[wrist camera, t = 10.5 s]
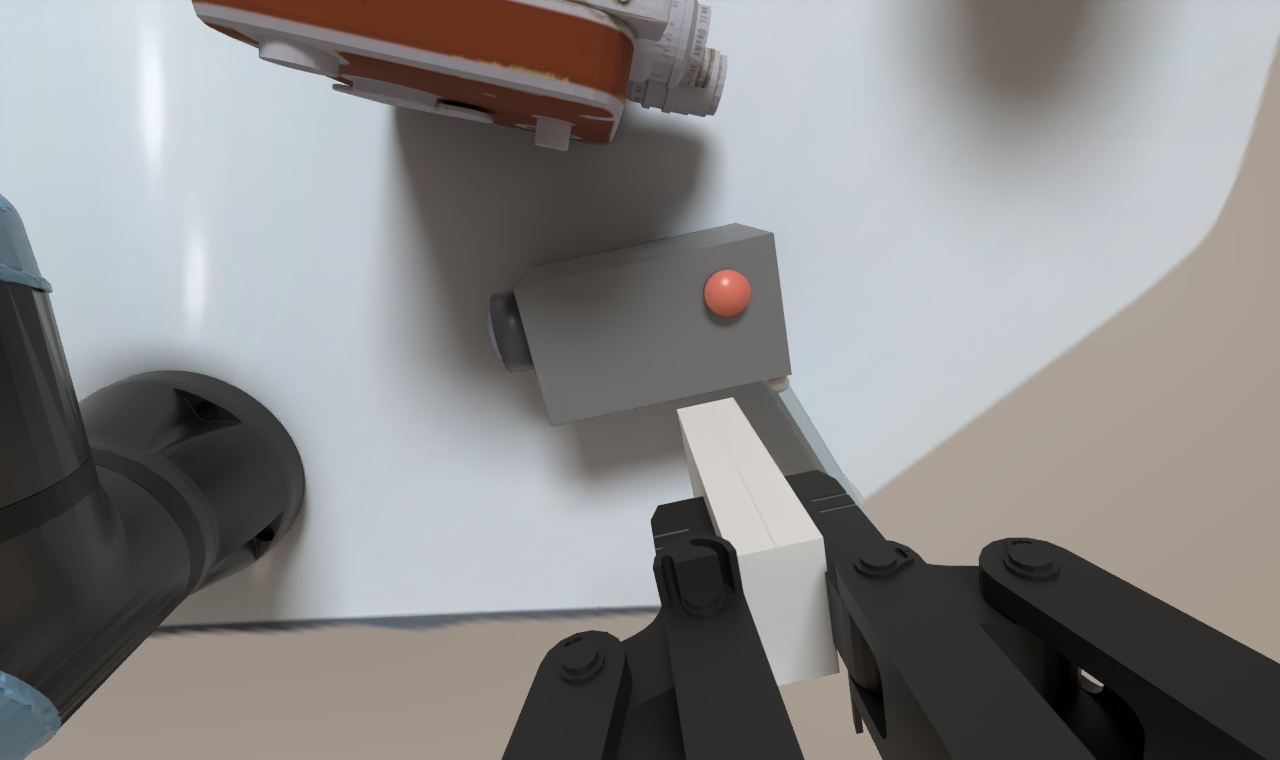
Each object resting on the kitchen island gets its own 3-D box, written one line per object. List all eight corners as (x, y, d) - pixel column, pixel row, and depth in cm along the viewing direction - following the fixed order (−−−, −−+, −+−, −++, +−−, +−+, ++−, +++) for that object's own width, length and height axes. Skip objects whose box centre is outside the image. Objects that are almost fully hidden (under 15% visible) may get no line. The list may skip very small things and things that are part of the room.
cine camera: (687, 184, 39) (772, 183, 20) (380, 121, 37) (147, 52, 18) (719, 28, 36) (852, -145, 17) (390, -50, 34) (128, -350, 15)
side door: (838, 470, 45) (881, 521, 38) (822, 480, 45) (861, 532, 39) (757, 337, 42) (788, 367, 35) (739, 348, 42) (767, 380, 35)
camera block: (526, 387, 42) (506, 443, 33) (494, 275, 40) (463, 301, 31) (752, 338, 43) (796, 381, 33) (735, 223, 40) (777, 234, 31)
